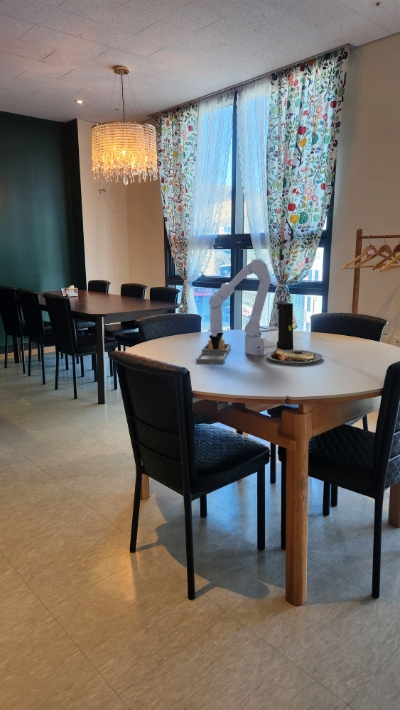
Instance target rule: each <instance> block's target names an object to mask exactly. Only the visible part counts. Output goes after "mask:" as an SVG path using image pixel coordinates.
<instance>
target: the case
mask: <svg viewBox="0 0 400 710" xmlns="http://www.w3.org/2000/svg"><path fill="white" fill-rule="evenodd" d="M231 347H232V345H231V343H224V348H225V349H209V346H208V343H206V344H205V345H204V346H203V347H202V348H201V352H208V353H227V356H228V355H229V353H230V351H231V350H232V349H231Z"/></svg>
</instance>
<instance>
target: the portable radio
mask: <svg viewBox="0 0 400 710" xmlns="http://www.w3.org/2000/svg"><path fill="white" fill-rule="evenodd" d="M276 309H278V322H277V323H278V324H277V325H278V326H277V328H278V329H277V331H278V334H277V335H278V337H277V342H276V349H278V348H279V349H281V350H294V348H295V347H294V326H293V324H294V321H293V320H294V317H293V316H294V311H293V310H294V303H292V302H283V300H282V297H280V302H278V303H277V305H276Z"/></svg>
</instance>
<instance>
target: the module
mask: <svg viewBox="0 0 400 710" xmlns="http://www.w3.org/2000/svg"><path fill="white" fill-rule="evenodd" d="M207 341H208V343H207V344H208V346H209V349H213V346H212V342H211V339H210V338H209V339H208V340H207ZM224 344H225V338H223V337H222V338H220V341H219V348H218V349H225V348H224Z"/></svg>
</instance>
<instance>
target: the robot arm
mask: <svg viewBox="0 0 400 710" xmlns="http://www.w3.org/2000/svg"><path fill="white" fill-rule="evenodd" d="M252 274H254V275H255V276H256V277H257V279H258V280H259V283H258V284H259V285H258V288H257V292H256V296H255V299H254V301H253V302H254V303H253V306H252V310H251V313H250V317H249V320H248V322H247V324H245V326H244V332H245V333H244V354H248V355H251V356H258V357H259V356H265V354H266V353H265V341H264V339H263V338H262V337H261V333H260V332H259V331H260V329H261V325H260V321H261V317H262V313H263V311H264V305H265V302H266V298H267V295H268V292H269V288H270V285H271V281H272V278H271V275H270V271H269V269H268V265H267V263H266V262H265V261H264V260H263V259H262V258H256V259H252V260H251V261H250V262H249V263H247V264H245V266H244V267H242V269H241V270H240V271H239V272H238V273H237V274H236V275H235V276H234V277H233V278H232V279H231V281H230V282H225V283H222V284H221V285H220V288H218V290H217V291H214V292H213V294H214V295H211V296H210V297H209V299H208V304H209V328H210V329H207V332H210V333H211V334H210V335H208V336H209V337H208V338H209V339H211V342H212V346H213V349H218V348H219V341H220V338H223V335H224V332H223V331H224V330H223V309H222V308H223V306H222V305H223V303H224V302H225V301H227V299H229V297H230V296H231V295H233V293H235V287H236V286H237V285H239V283H241V282H242V281H243V280H244V279H245V278H246V277H247V276H251V275H252Z"/></svg>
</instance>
